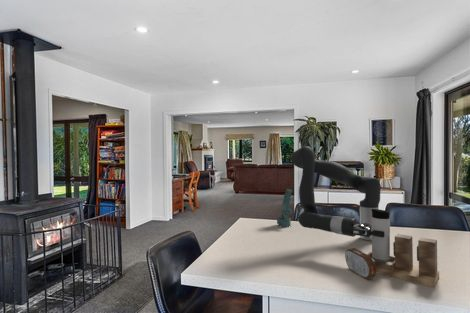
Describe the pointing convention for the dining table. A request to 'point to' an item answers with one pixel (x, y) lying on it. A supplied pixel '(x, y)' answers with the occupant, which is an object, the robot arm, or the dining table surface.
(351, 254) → the tin
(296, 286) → the dining table surface
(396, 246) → the brown wooden piece
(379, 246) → the travel mug
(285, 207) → the teal textured tall figure
